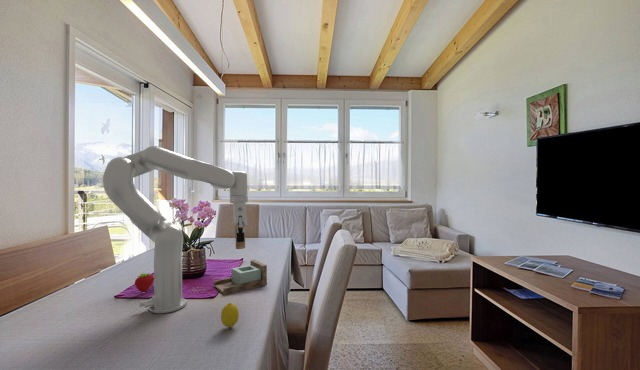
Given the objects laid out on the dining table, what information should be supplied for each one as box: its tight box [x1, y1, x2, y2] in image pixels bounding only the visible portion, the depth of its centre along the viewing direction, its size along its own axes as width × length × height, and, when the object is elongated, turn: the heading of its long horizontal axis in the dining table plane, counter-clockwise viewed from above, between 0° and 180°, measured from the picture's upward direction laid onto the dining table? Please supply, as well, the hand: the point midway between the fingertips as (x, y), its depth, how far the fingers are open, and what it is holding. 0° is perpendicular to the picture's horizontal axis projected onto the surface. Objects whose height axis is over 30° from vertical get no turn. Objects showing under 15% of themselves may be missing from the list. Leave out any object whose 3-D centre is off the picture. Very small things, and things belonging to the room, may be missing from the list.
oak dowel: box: [234, 224, 246, 250], centre depth 130 cm, size 4×4×10 cm
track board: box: [213, 259, 268, 296], centre depth 135 cm, size 20×13×9 cm, turn 128°
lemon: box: [220, 302, 240, 329], centre depth 95 cm, size 6×6×8 cm
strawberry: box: [134, 272, 154, 293], centre depth 126 cm, size 6×8×10 cm
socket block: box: [231, 264, 261, 285], centre depth 137 cm, size 10×10×6 cm
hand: (240, 240), depth 130 cm, fingers closed on oak dowel, 4 cm apart
